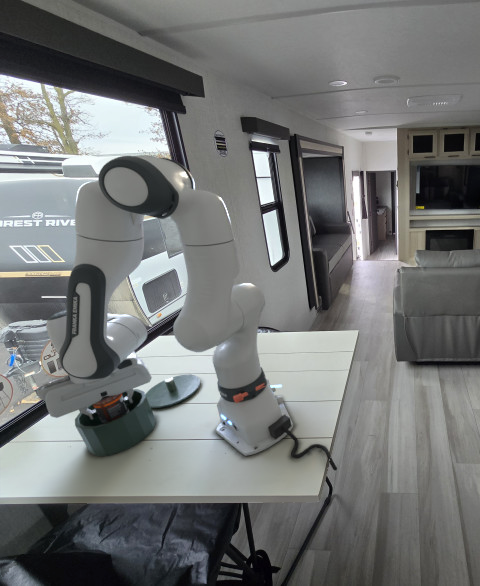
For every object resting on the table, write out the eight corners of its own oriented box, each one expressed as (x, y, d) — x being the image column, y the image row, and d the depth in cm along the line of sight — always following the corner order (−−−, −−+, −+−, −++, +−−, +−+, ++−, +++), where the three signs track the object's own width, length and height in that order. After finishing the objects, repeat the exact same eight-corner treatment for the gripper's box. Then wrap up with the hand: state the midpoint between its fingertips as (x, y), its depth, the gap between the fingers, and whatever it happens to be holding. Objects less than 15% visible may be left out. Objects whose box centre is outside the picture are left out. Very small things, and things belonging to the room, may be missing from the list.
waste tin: (160, 433, 87) (149, 406, 83) (91, 466, 77) (75, 438, 74) (151, 407, 96) (140, 382, 93) (88, 434, 87) (74, 407, 83)
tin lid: (206, 391, 102) (202, 378, 100) (149, 417, 92) (143, 403, 90) (193, 371, 113) (190, 359, 111) (140, 392, 103) (135, 380, 101)
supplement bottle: (137, 414, 87) (123, 381, 83) (118, 430, 82) (102, 396, 78) (118, 412, 88) (103, 380, 84) (98, 429, 83) (80, 395, 78)
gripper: (32, 393, 69) (58, 439, 75) (143, 355, 83) (159, 396, 88) (33, 381, 74) (59, 424, 79) (139, 347, 87) (155, 386, 92)
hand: (112, 409), depth 83 cm, fingers closed on supplement bottle, 6 cm apart
